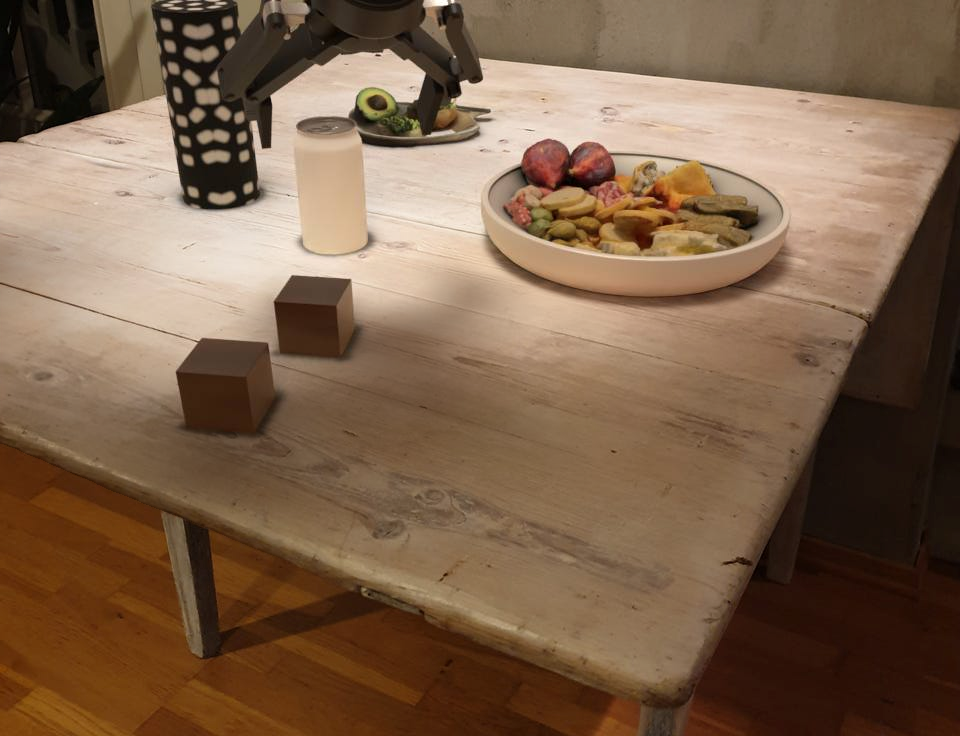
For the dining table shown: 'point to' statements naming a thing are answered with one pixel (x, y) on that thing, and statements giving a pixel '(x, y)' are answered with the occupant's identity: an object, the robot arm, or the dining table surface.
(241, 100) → the spotted tube
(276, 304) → the far block
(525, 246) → the bowl
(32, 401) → the dining table surface
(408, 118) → the salad plate
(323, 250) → the can
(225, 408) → the near block
